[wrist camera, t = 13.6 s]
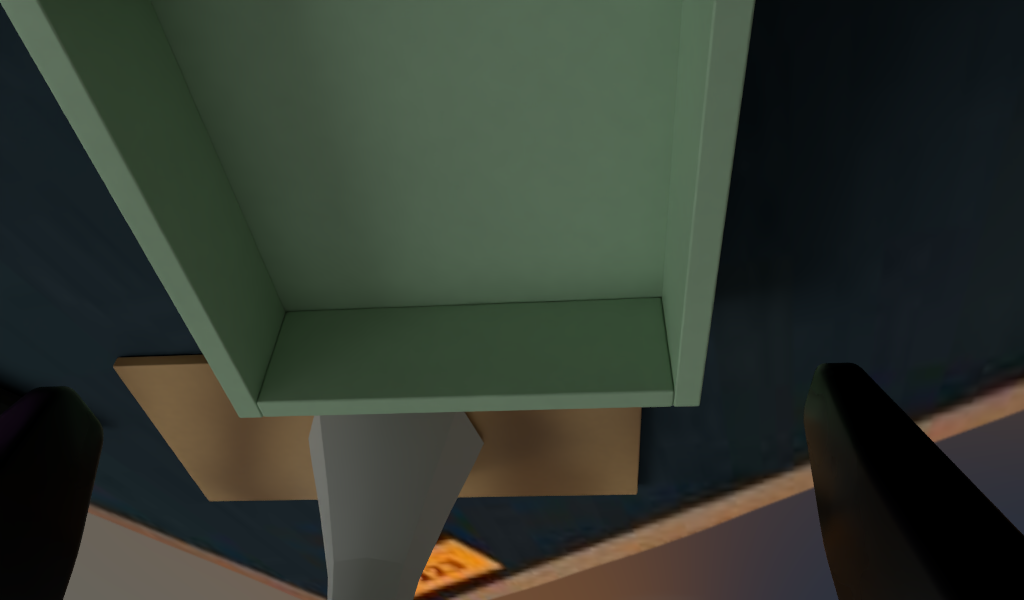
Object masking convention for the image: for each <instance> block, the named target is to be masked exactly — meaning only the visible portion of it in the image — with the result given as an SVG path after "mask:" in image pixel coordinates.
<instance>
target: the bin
mask: <svg viewBox="0 0 1024 600" xmlns="http://www.w3.org/2000/svg"><path fill="white" fill-rule="evenodd" d="M755 1H756V0H0V3H1V4H2V6H3V8H4V10H5V11H6V13H7V15H8V16H9V18H10V20H11V22H12V23H13V25H14V27H15V29H16V30H17V32H18V34H19V36H20V37H21V39H22V41H23V43H24V44H25V46H26V48H27V49H28V51H29V53H30V55H31V56H32V58H33V60H34V62H35V63H36V65H37V67H38V69H39V70H40V72H41V74H42V76H43V77H44V79H45V81H46V82H47V84H48V86H49V88H50V89H51V91H52V93H53V95H54V96H55V98H56V100H57V102H58V103H59V105H60V107H61V109H62V110H63V112H64V114H65V115H66V117H67V119H68V121H69V122H70V124H71V126H72V128H73V129H74V131H75V133H76V135H77V136H78V138H79V140H80V141H81V143H82V145H83V147H84V148H85V150H86V152H87V154H88V155H89V157H90V159H91V161H92V162H93V164H94V166H95V168H96V169H97V171H98V173H99V174H100V176H101V178H102V180H103V181H104V183H105V185H106V187H107V188H108V190H109V192H110V194H111V195H112V197H113V199H114V201H115V202H116V204H117V206H118V207H119V209H120V211H121V213H122V214H123V216H124V218H125V220H126V221H127V223H128V225H129V227H130V228H131V230H132V232H133V233H134V235H135V237H136V239H137V240H138V242H139V244H140V246H141V247H142V249H143V251H144V253H145V254H146V256H147V258H148V260H149V261H150V263H151V265H152V266H153V268H154V270H155V272H156V273H157V275H158V277H159V279H160V280H161V282H162V284H163V286H164V287H165V289H166V291H167V293H168V294H169V296H170V298H171V299H172V301H173V303H174V305H175V306H176V308H177V310H178V312H179V313H180V315H181V317H182V319H183V320H184V322H185V324H186V326H187V327H188V329H189V331H190V332H191V334H192V336H193V338H194V339H195V341H196V343H197V345H198V346H199V348H200V350H201V352H202V353H203V355H204V357H205V358H206V360H207V362H208V364H209V365H210V367H211V369H212V371H213V372H214V374H215V376H216V378H217V379H218V381H219V383H220V385H221V386H222V388H223V390H224V391H225V393H226V395H227V397H228V398H229V400H230V402H231V404H232V405H233V407H234V409H235V411H236V412H237V414H238V416H239V417H240V418H257V417H263V416H265V417H279V416H318V415H356V414H395V413H434V412H473V411H512V410H550V409H589V408H628V407H667V406H672V405H674V406H676V407H677V406H699V404H700V399H701V392H702V384H703V377H704V370H705V363H706V355H707V348H708V341H709V334H710V326H711V319H712V312H713V305H714V297H715V290H716V283H717V276H718V268H719V261H720V254H721V247H722V239H723V232H724V225H725V218H726V211H727V203H728V196H729V189H730V182H731V174H732V167H733V160H734V153H735V145H736V138H737V131H738V124H739V116H740V109H741V102H742V95H743V87H744V80H745V73H746V66H747V59H748V51H749V44H750V37H751V30H752V22H753V15H754V8H755Z"/></svg>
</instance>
